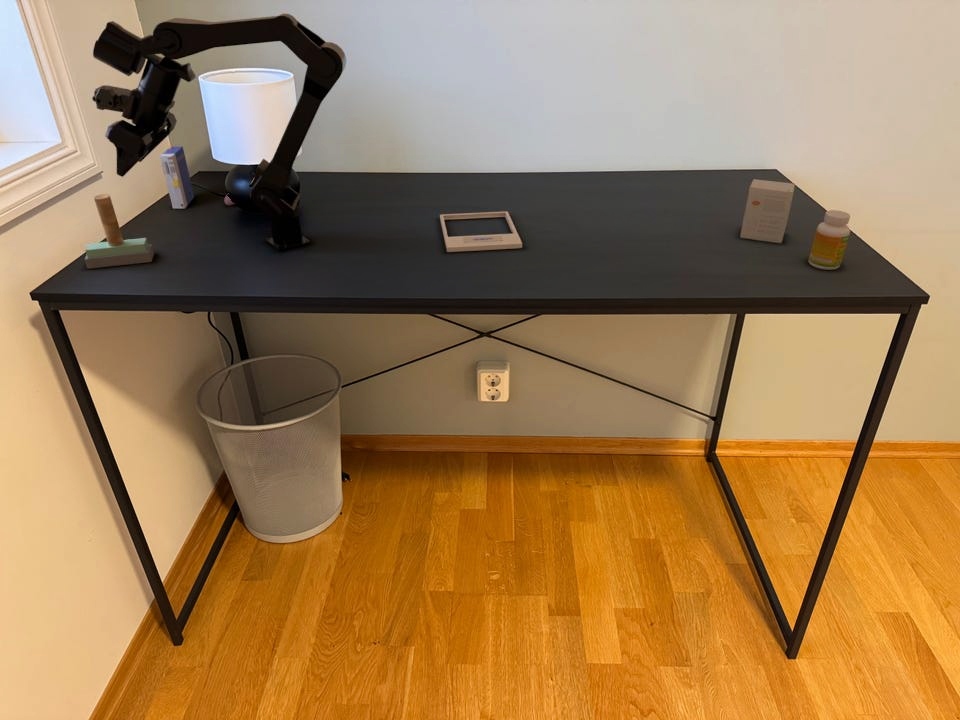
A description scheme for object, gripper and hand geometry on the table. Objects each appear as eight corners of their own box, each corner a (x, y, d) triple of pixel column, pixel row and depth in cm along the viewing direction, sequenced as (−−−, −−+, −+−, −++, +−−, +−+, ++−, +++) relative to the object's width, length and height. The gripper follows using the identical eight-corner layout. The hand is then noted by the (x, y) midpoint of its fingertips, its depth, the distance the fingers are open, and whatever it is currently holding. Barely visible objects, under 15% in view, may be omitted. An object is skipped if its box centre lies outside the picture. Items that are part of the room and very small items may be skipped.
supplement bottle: (837, 273, 123) (852, 221, 118) (805, 266, 126) (819, 215, 120) (841, 262, 127) (856, 212, 122) (810, 256, 129) (824, 206, 124)
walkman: (182, 197, 159) (169, 145, 153) (194, 197, 160) (182, 144, 153) (172, 209, 153) (158, 154, 146) (184, 208, 153) (171, 154, 147)
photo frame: (446, 246, 131) (439, 213, 146) (447, 252, 131) (439, 218, 147) (522, 242, 132) (507, 210, 148) (522, 248, 133) (507, 215, 148)
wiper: (154, 253, 132) (136, 190, 125) (151, 262, 128) (133, 197, 122) (91, 260, 129) (70, 195, 123) (87, 269, 126) (65, 203, 119)
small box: (783, 234, 139) (796, 183, 133) (781, 244, 134) (794, 191, 129) (742, 228, 142) (753, 178, 136) (738, 238, 137) (749, 186, 132)
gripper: (128, 56, 125) (103, 132, 131) (86, 74, 109) (60, 160, 115) (189, 89, 128) (161, 161, 135) (157, 112, 113) (128, 192, 119)
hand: (129, 167), depth 126 cm, fingers open, 9 cm apart
